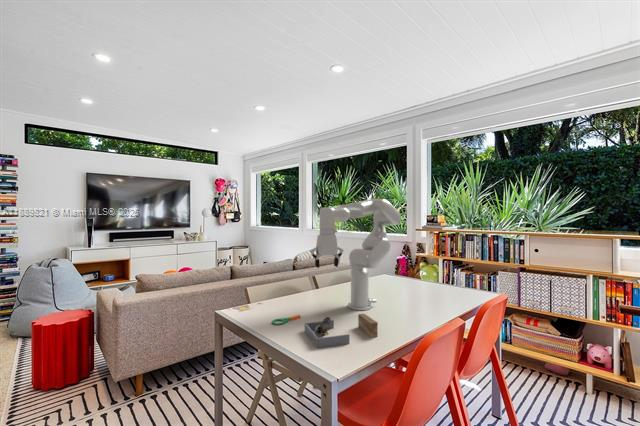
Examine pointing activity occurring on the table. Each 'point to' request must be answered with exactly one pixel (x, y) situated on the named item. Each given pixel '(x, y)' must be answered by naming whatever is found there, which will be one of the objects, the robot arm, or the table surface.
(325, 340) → the grey bent bar
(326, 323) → the eagle figurine
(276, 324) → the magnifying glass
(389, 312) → the table surface
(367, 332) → the brown rectangular block
